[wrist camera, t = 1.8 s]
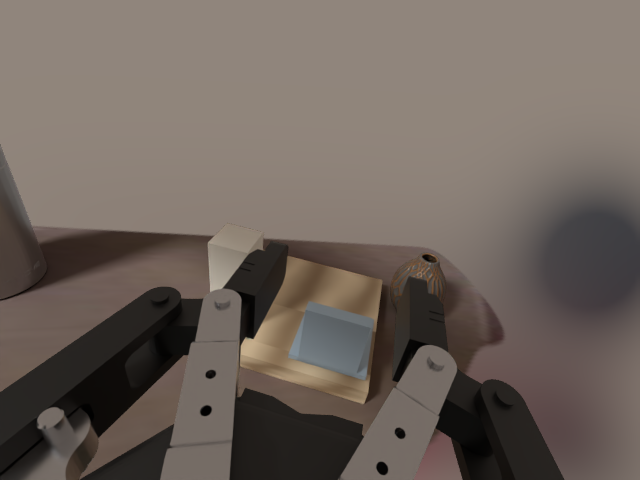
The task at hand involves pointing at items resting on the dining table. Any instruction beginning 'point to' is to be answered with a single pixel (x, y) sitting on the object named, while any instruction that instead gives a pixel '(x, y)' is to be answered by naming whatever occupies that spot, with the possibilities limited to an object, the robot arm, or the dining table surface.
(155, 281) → the dining table surface
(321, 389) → the puzzle board
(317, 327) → the blue l-shaped block
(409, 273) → the vase
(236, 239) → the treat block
